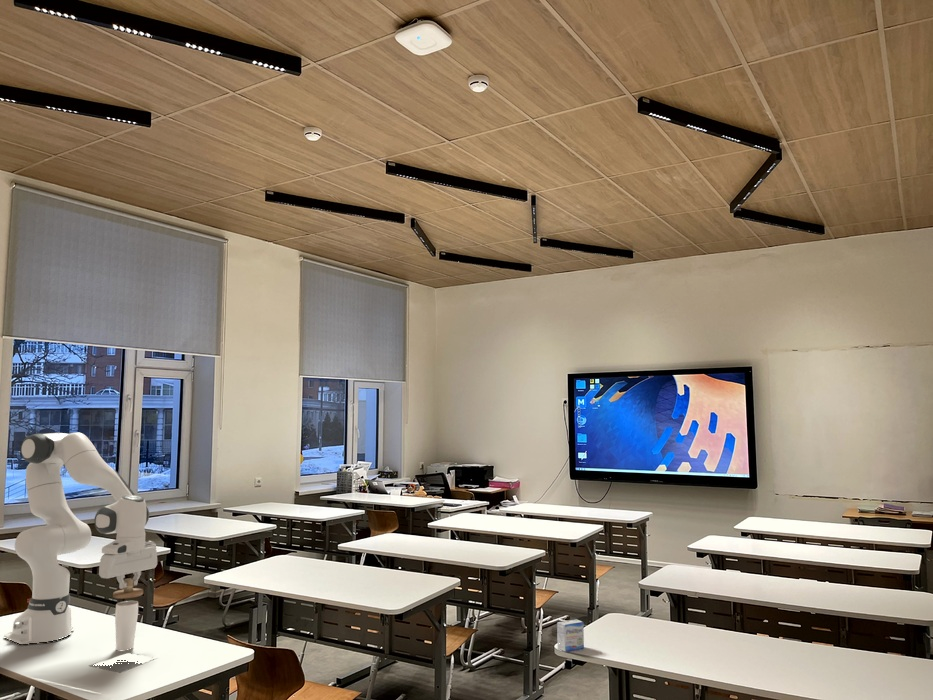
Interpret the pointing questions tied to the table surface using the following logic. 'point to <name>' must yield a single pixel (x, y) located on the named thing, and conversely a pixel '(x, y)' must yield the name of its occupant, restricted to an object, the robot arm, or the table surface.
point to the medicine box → (570, 635)
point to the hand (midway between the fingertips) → (128, 587)
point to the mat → (118, 666)
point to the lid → (128, 590)
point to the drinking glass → (126, 624)
